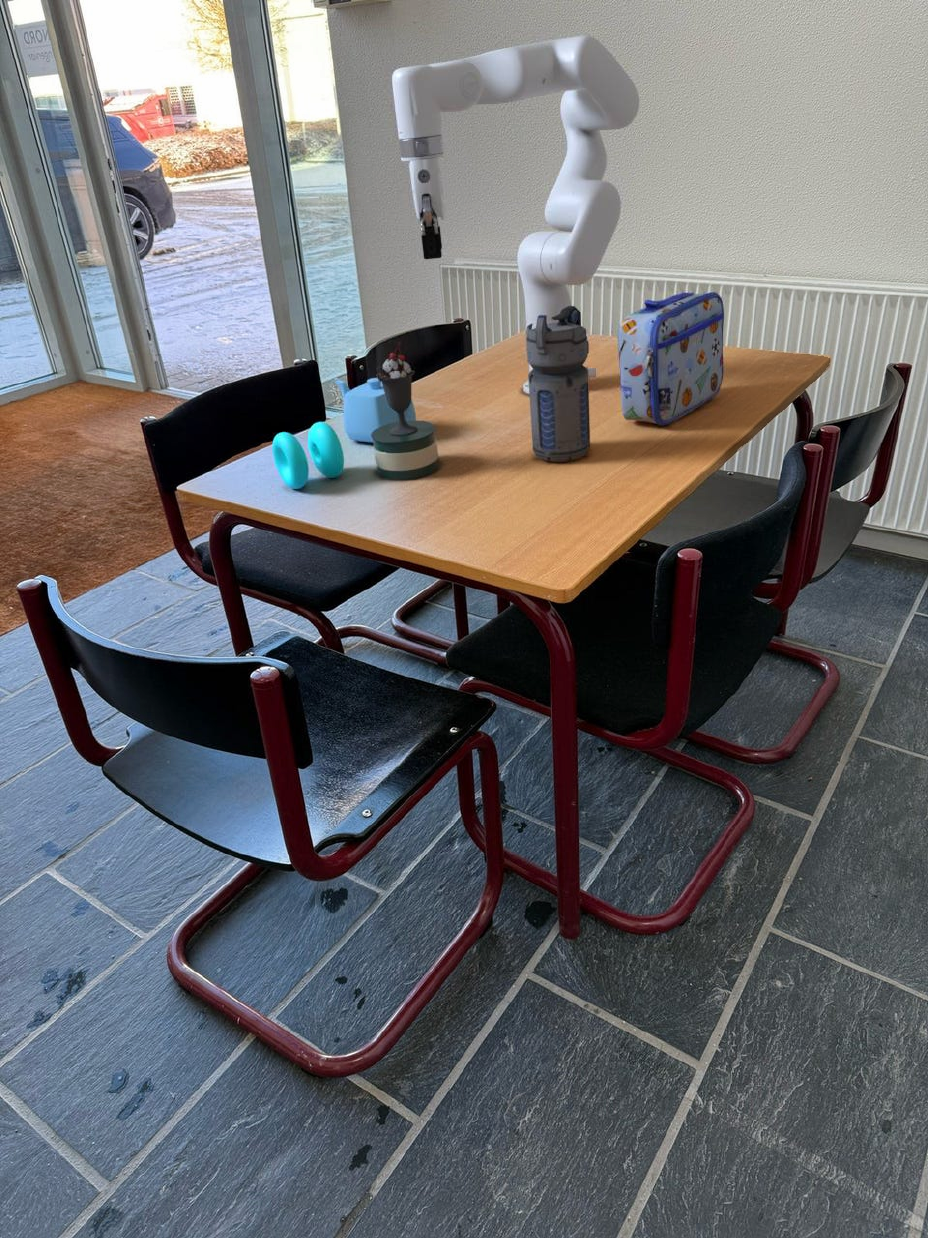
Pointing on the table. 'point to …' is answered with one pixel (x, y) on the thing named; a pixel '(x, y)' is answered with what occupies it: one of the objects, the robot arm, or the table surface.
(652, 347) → the lunch box
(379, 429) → the tin
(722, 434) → the table surface
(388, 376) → the sundae
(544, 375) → the beverage bottle
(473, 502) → the table surface
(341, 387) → the teapot
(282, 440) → the donuts
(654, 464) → the table surface
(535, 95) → the robot arm
